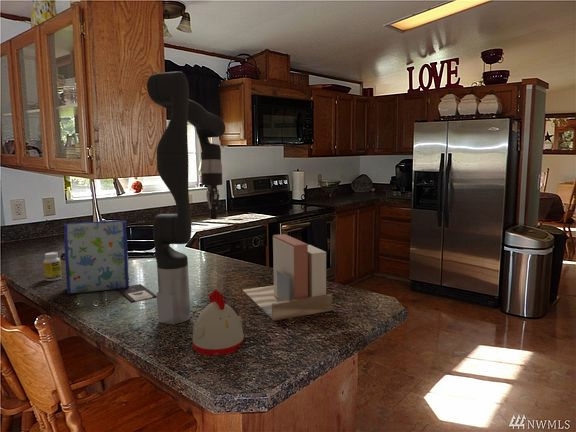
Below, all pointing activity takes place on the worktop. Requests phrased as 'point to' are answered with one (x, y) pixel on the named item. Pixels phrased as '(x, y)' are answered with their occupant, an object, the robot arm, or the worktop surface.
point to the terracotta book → (291, 264)
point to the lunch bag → (96, 256)
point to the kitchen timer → (217, 328)
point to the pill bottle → (52, 267)
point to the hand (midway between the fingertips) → (213, 219)
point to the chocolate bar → (136, 293)
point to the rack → (289, 303)
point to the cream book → (316, 271)
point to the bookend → (280, 291)
